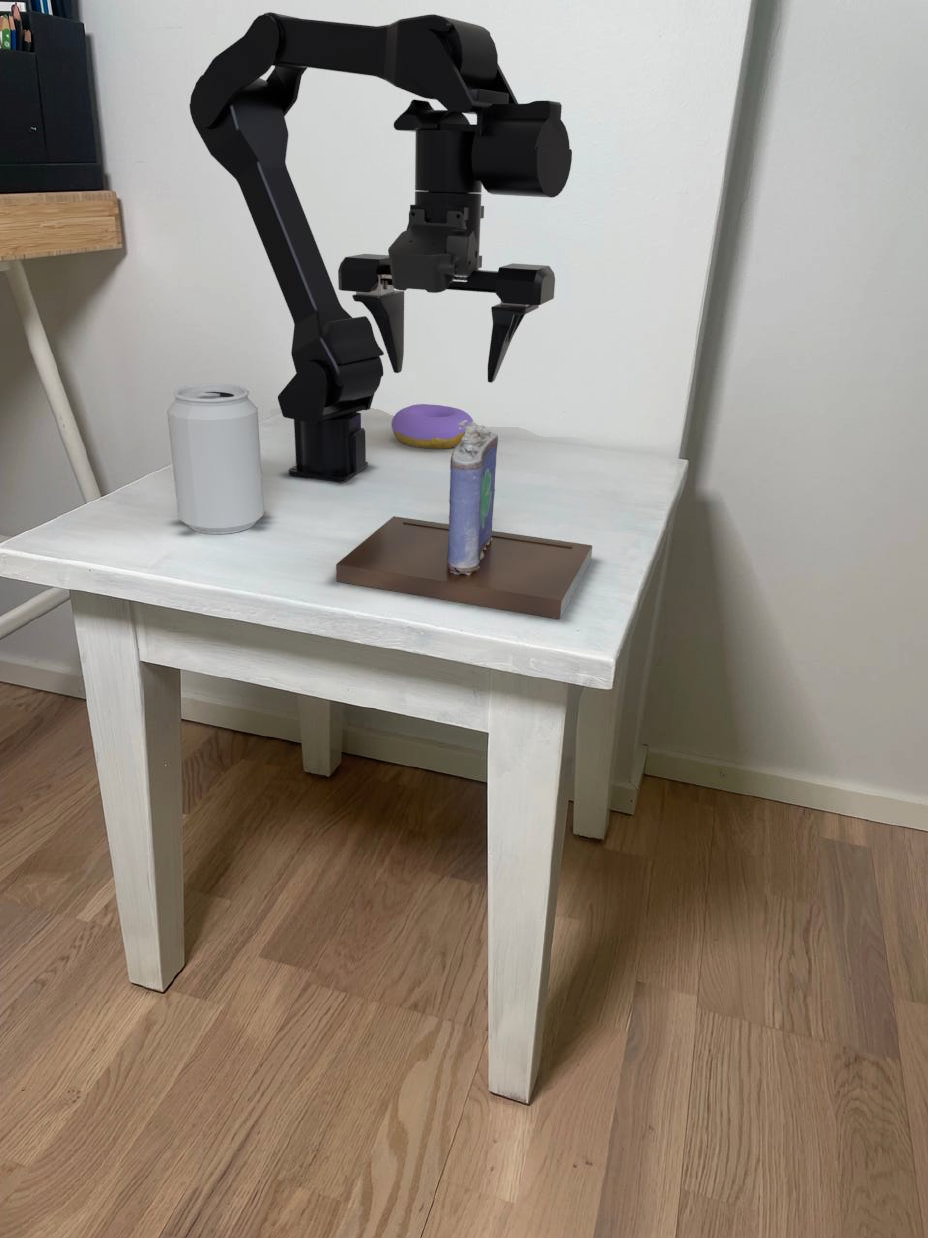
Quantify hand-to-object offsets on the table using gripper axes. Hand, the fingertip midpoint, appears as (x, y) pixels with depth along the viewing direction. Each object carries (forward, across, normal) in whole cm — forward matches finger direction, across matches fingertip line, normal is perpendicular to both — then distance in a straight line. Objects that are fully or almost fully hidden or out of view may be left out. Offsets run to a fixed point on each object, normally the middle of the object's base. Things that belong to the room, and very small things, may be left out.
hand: (443, 376), depth 86 cm
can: (+12, -16, -14) cm, 25 cm away
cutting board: (+12, +8, -16) cm, 22 cm away
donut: (+12, -8, +20) cm, 25 cm away
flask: (+11, +8, -16) cm, 21 cm away
